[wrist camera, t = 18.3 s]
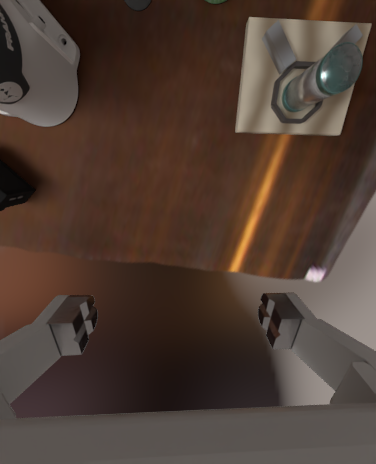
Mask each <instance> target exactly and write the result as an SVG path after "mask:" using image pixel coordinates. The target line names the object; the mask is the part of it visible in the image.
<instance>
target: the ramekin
mask: <svg viewBox="0 0 376 464" xmlns="http://www.w3.org/2000/svg"><path fill="white" fill-rule="evenodd" d="M205 1H207V2H209V3H212V4H219V3H222V2H225V1H226V0H205Z"/></svg>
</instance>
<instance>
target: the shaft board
mask: <svg viewBox="0 0 376 464" xmlns="http://www.w3.org/2000/svg"><path fill="white" fill-rule="evenodd" d="M371 25H372V24H369V23H351V22H332V21H313V20H294V19H275V18H257V17H249V19H248V21H247V23H246V32H245V41H244V51H243V61H242V70H241V80H240V90H239V99H238V109H237V119H236V128H235V133H260V134H290V135H321V136H337V135H340V133H341V130H342V126H343V123H344V119H345V116H346V112H347V109H348V105H349V102H350V98H351V95H352V91H353V88H354V84H355V83H354V84H353V85H352V86H351V87H350V88H348V89H347V90H345V91H343V92H341V93H339V94H336V95H333V96H330V97H328V98H326V99H324V100H321V101H319V102H317V103H315V104H313V105H310V106H308V107H306V108H305V109H303V110H301V111H298V112H289V111H287V110H286V109H285V108H284V106H283V104H282V93H283V90H284V88H285V86H286V85H287V84H288V83H289V82H290V81H291V80H292V79H294V78H295V77H297V76H299V75H300V74H301V73H303V72H304V71H305V70H307V69H308V68H309V67H311V66H312V65H313V64H314V63H316V62H317V61H318V60H320V59H321V58H322V57H324V56H325V55H326V54H327V53H328V52H329V51H330V50H332V49H333V48H334V47H336V46H337V45H339V44H341V43H345V42H350V43H353V44H355V45H357V46H358V47H359V49H360V51H361V53H362V56H363V53H364V49H365V46H366V42H367V39H368V35H369V32H370V28H371Z"/></svg>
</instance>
